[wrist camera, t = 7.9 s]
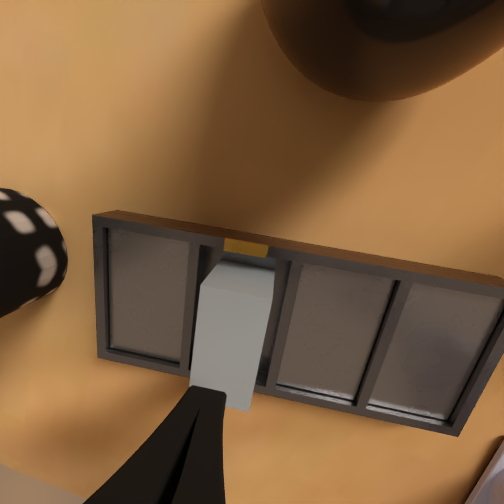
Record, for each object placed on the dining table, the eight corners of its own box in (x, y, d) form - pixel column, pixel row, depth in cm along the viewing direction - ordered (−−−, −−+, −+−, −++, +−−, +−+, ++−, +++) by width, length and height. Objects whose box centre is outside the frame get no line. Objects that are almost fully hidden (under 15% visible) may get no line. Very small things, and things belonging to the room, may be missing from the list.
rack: (436, 405, 18) (460, 440, 15) (118, 338, 19) (95, 360, 17) (498, 275, 15) (539, 294, 12) (117, 209, 16) (89, 214, 14)
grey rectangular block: (256, 361, 18) (248, 412, 14) (208, 350, 18) (187, 397, 14) (275, 270, 16) (272, 299, 12) (220, 259, 16) (200, 285, 12)
